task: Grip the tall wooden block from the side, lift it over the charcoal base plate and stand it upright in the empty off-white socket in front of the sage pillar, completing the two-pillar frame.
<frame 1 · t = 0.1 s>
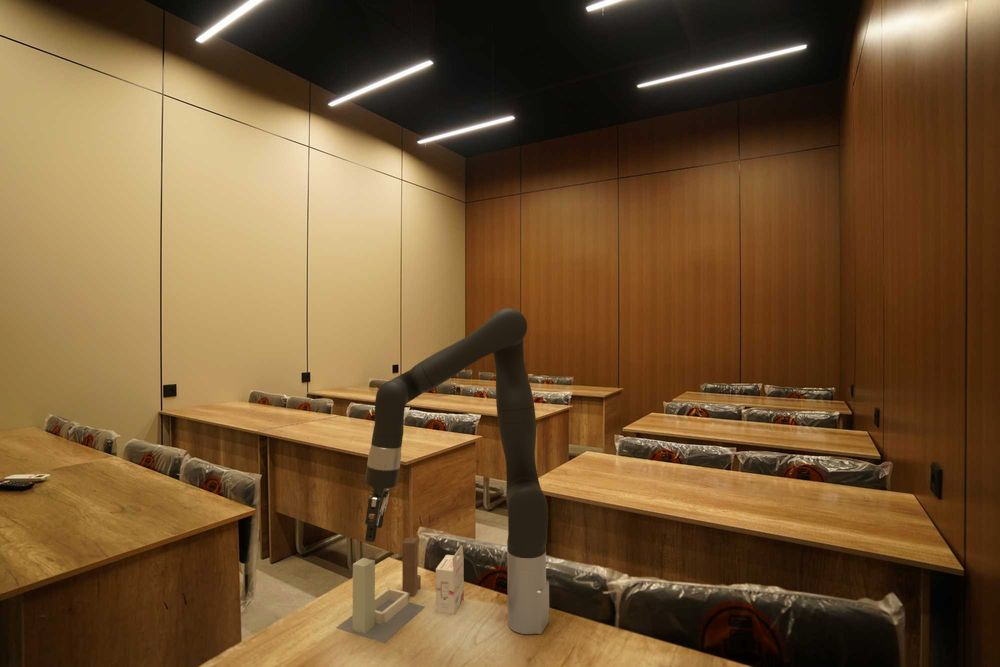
hand: (374, 533, 111), 22 cm above the table, tool pointing down, fingers open, 8 cm apart
ink cartridge box: (450, 610, 120), on the table
wooden block: (411, 595, 127), on the table
base plate: (382, 621, 114), on the table
sage pillar: (363, 628, 110), resting on base plate
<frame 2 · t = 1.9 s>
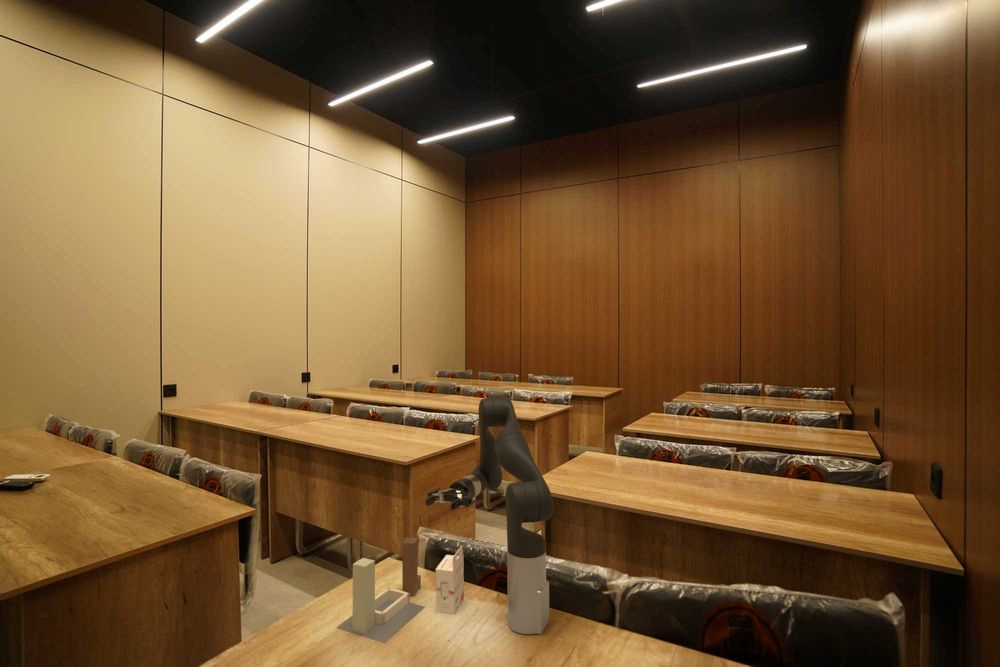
hand: (439, 504, 140), 20 cm above the table, tool horizontal, fingers open, 8 cm apart
nothing on the table moved.
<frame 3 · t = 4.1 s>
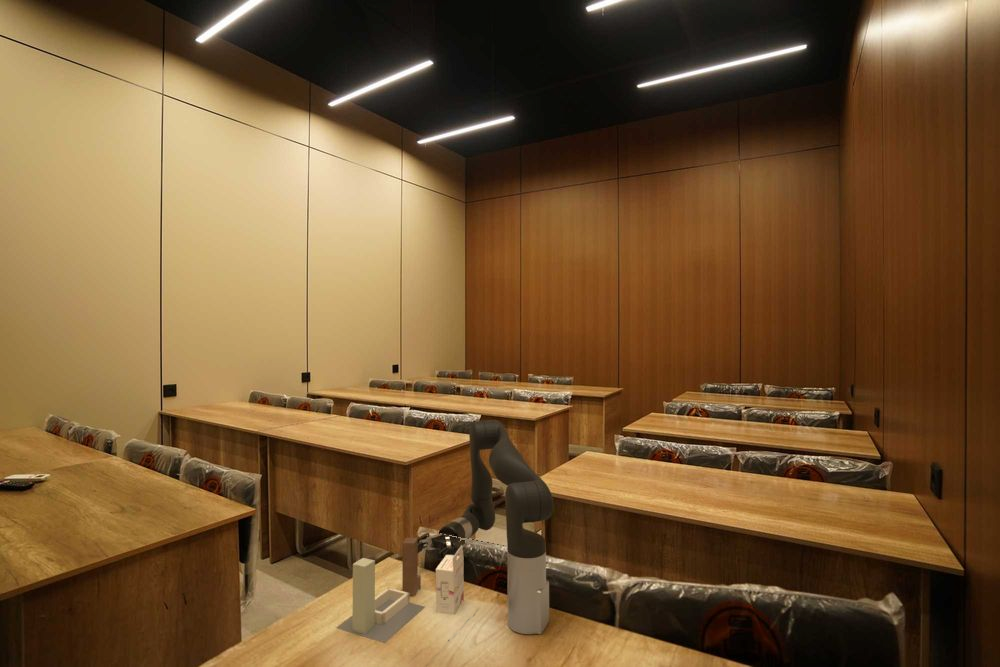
hand: (426, 553, 134), 8 cm above the table, tool horizontal, fingers open, 8 cm apart
nothing on the table moved.
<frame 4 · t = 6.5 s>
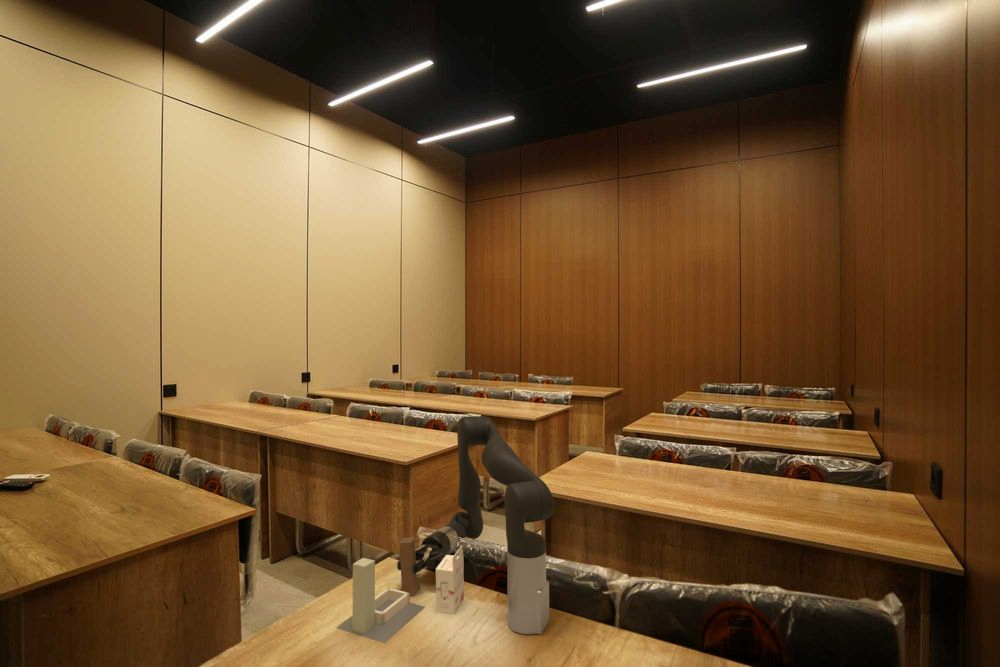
hand: (406, 568, 125), 8 cm above the table, tool horizontal, fingers closed on wooden block, 4 cm apart
wooden block: (411, 594, 127), on the table, touching gripper
everything else where it was.
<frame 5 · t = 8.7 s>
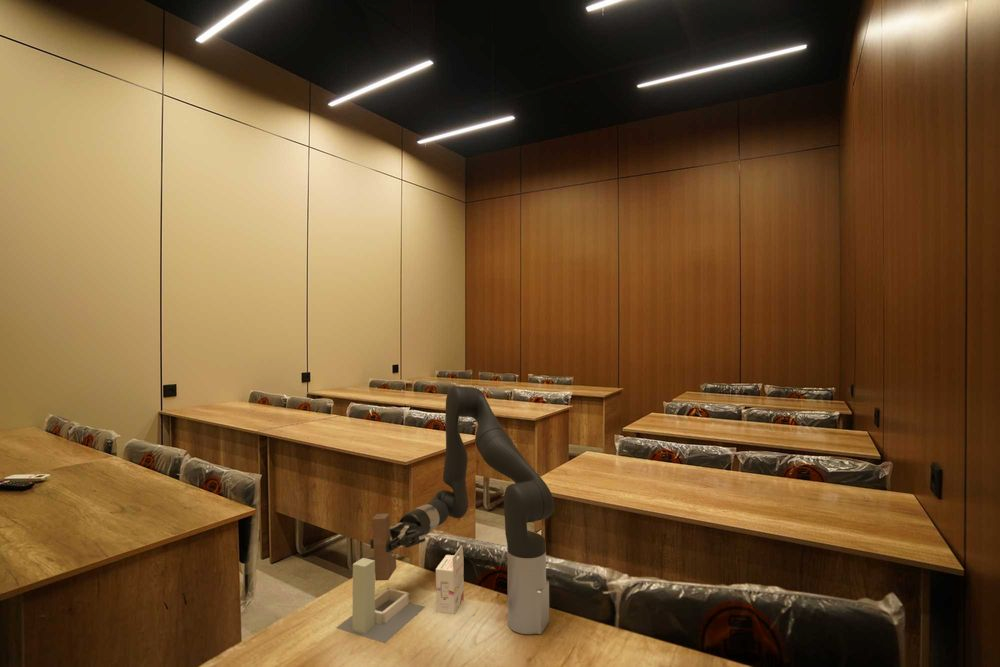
hand: (379, 546, 116), 18 cm above the table, tool horizontal, fingers closed on wooden block, 4 cm apart
wooden block: (386, 575, 118), point 10 cm above the table, touching gripper
everything else where it was.
when the fingers open (11 cm above the table, at t = 11.0 s): wooden block drops 2 cm, resting on base plate.
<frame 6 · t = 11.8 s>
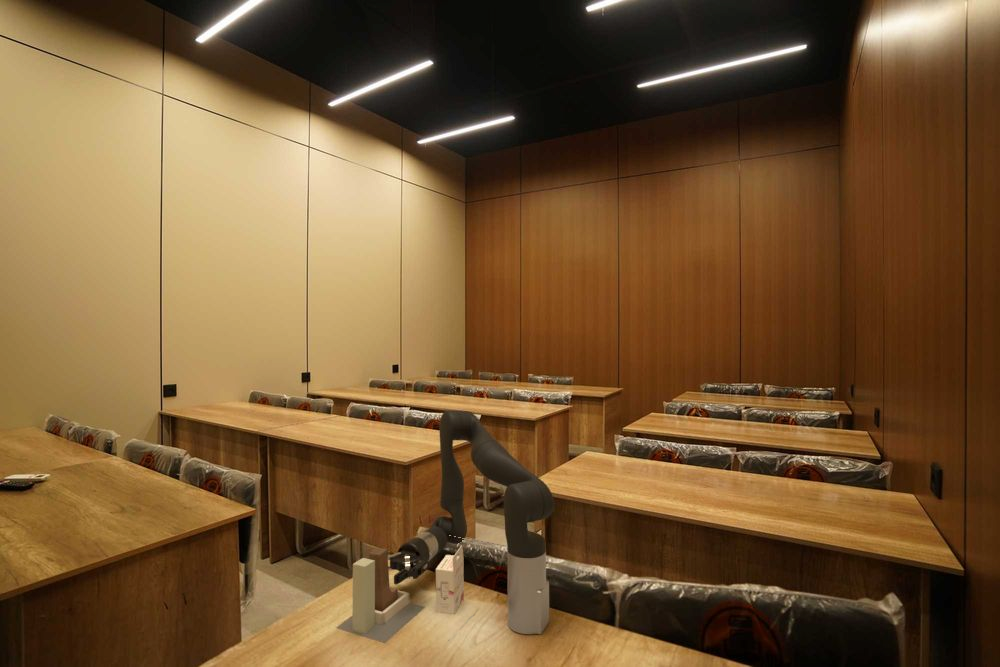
hand: (380, 576, 116), 10 cm above the table, tool horizontal, fingers open, 8 cm apart
wooden block: (385, 610, 117), point 1 cm above the table, touching base plate
everything else where it was.
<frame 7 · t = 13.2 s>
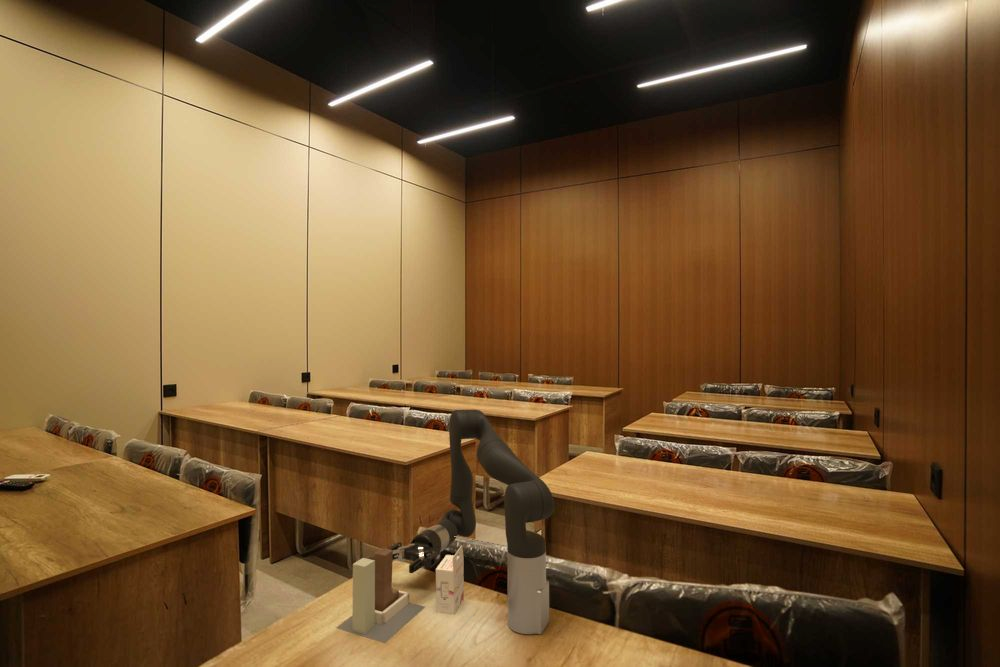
hand: (396, 566, 121), 10 cm above the table, tool horizontal, fingers open, 8 cm apart
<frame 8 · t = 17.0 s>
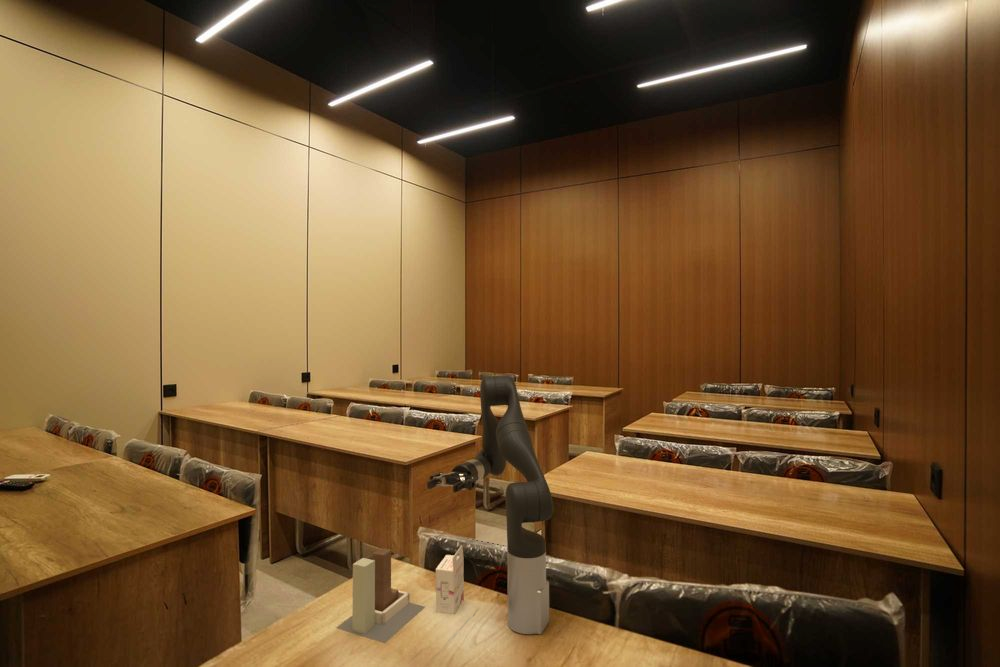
hand: (441, 487, 136), 26 cm above the table, tool horizontal, fingers open, 8 cm apart
nothing on the table moved.
at the end: wooden block 0.3 cm from the target spot, point 1.0 cm above the table; wooden block tilted 0°; the gripper is holding nothing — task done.
